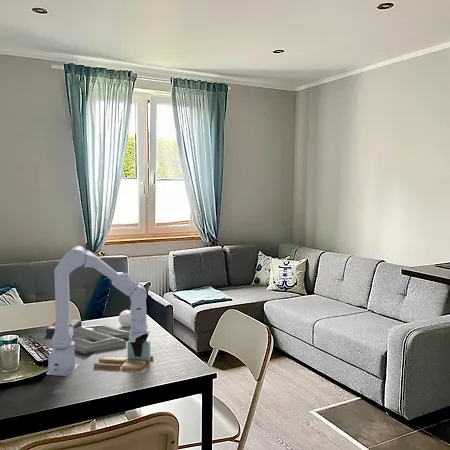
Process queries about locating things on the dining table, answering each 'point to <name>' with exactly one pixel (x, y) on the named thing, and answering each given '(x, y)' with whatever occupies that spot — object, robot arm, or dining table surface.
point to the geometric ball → (125, 318)
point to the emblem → (98, 339)
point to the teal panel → (144, 355)
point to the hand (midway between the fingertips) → (139, 354)
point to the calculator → (51, 329)
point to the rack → (118, 364)
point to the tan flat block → (133, 368)
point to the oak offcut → (133, 364)
